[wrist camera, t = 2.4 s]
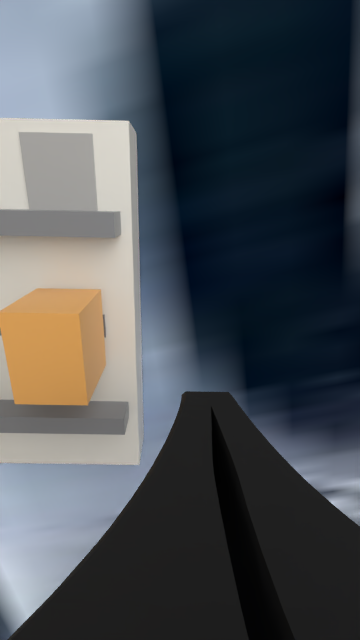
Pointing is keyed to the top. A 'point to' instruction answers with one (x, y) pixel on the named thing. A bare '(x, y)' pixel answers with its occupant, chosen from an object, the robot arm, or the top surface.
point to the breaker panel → (74, 278)
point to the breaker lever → (54, 346)
